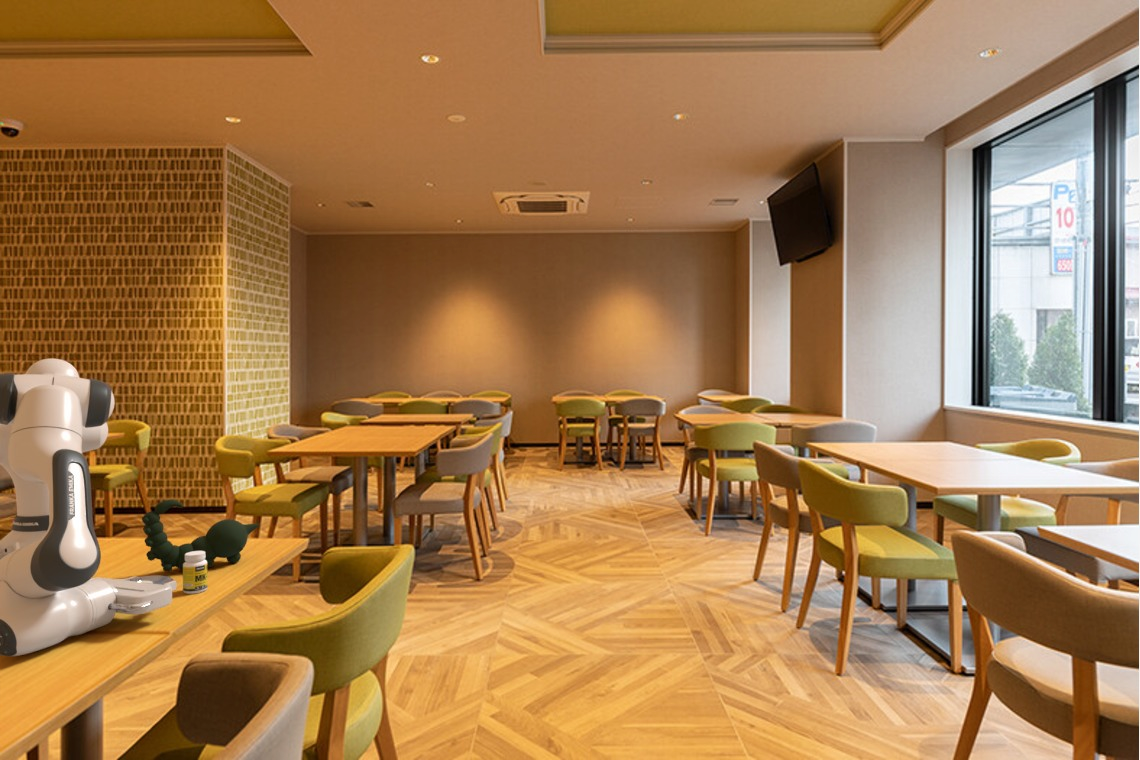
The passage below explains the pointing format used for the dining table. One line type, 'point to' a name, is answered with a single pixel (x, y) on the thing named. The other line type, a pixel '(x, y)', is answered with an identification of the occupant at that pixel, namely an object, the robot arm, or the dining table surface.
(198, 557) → the supplement bottle
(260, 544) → the dining table surface
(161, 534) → the toy figurine
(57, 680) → the dining table surface
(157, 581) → the charcoal plate
